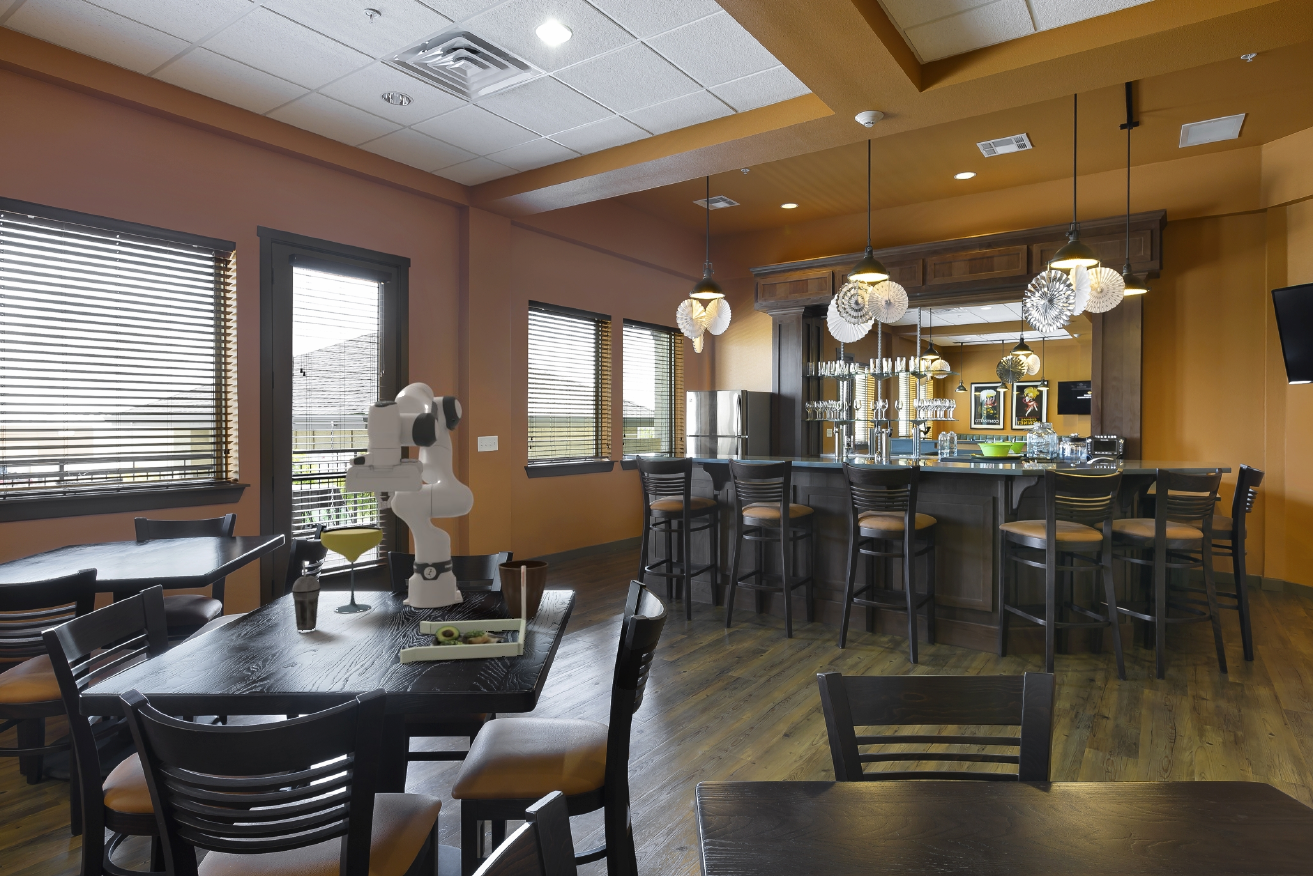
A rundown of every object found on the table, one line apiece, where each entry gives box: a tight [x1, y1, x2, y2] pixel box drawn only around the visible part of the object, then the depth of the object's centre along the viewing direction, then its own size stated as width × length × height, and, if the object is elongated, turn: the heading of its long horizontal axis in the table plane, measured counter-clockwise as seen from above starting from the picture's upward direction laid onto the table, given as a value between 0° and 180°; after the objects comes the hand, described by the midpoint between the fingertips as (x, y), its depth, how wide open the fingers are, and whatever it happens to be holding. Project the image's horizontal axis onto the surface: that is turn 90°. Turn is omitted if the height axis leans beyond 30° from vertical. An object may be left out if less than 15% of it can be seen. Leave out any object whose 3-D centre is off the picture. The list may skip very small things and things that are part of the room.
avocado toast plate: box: [429, 626, 508, 646], centre depth 185 cm, size 19×18×5 cm
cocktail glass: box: [320, 526, 384, 613], centre depth 223 cm, size 18×18×25 cm
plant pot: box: [497, 559, 549, 620], centre depth 213 cm, size 15×15×16 cm
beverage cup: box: [291, 560, 321, 631], centre depth 199 cm, size 7×7×20 cm
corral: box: [399, 566, 527, 664], centre depth 186 cm, size 28×29×18 cm
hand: (384, 507), depth 198 cm, fingers closed
